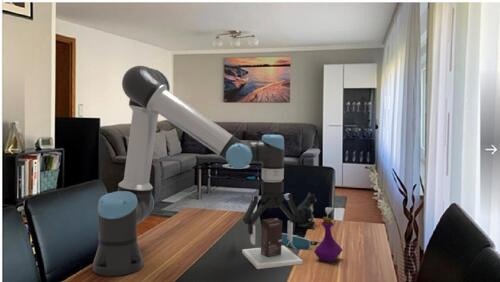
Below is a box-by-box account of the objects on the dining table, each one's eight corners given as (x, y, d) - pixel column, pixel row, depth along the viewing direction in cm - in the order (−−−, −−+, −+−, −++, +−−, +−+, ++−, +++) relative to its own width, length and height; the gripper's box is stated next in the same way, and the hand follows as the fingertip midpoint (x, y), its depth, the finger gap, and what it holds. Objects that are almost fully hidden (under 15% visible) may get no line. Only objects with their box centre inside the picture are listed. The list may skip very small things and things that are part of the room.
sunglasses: (274, 244, 159) (275, 231, 159) (295, 240, 171) (296, 228, 171) (305, 252, 150) (306, 238, 150) (326, 248, 162) (327, 235, 162)
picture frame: (257, 269, 134) (257, 265, 133) (242, 252, 149) (242, 249, 149) (302, 263, 139) (302, 260, 138) (283, 248, 154) (283, 245, 154)
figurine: (322, 228, 180) (323, 194, 179) (301, 231, 177) (302, 196, 176) (311, 223, 189) (312, 190, 188) (291, 225, 186) (292, 191, 185)
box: (267, 258, 140) (268, 222, 139) (260, 254, 144) (261, 219, 143) (282, 254, 143) (283, 220, 142) (274, 251, 147) (275, 217, 146)
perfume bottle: (334, 265, 137) (335, 211, 136) (313, 261, 141) (314, 208, 140) (342, 258, 144) (343, 207, 143) (321, 254, 148) (323, 204, 146)
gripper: (240, 183, 134) (239, 248, 136) (310, 180, 142) (309, 241, 144) (234, 180, 141) (233, 241, 143) (301, 177, 149) (300, 235, 151)
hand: (271, 241), depth 143 cm, fingers open, 13 cm apart
